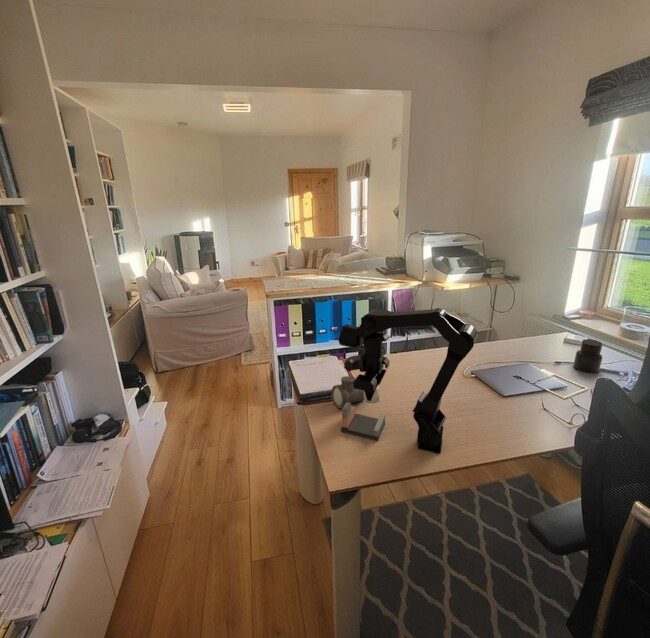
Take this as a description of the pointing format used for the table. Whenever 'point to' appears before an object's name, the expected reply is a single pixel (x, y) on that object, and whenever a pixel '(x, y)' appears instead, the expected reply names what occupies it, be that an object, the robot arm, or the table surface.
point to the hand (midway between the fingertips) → (371, 396)
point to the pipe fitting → (346, 392)
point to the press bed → (365, 426)
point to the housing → (374, 396)
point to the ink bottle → (589, 356)
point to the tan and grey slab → (347, 414)
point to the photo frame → (566, 380)
